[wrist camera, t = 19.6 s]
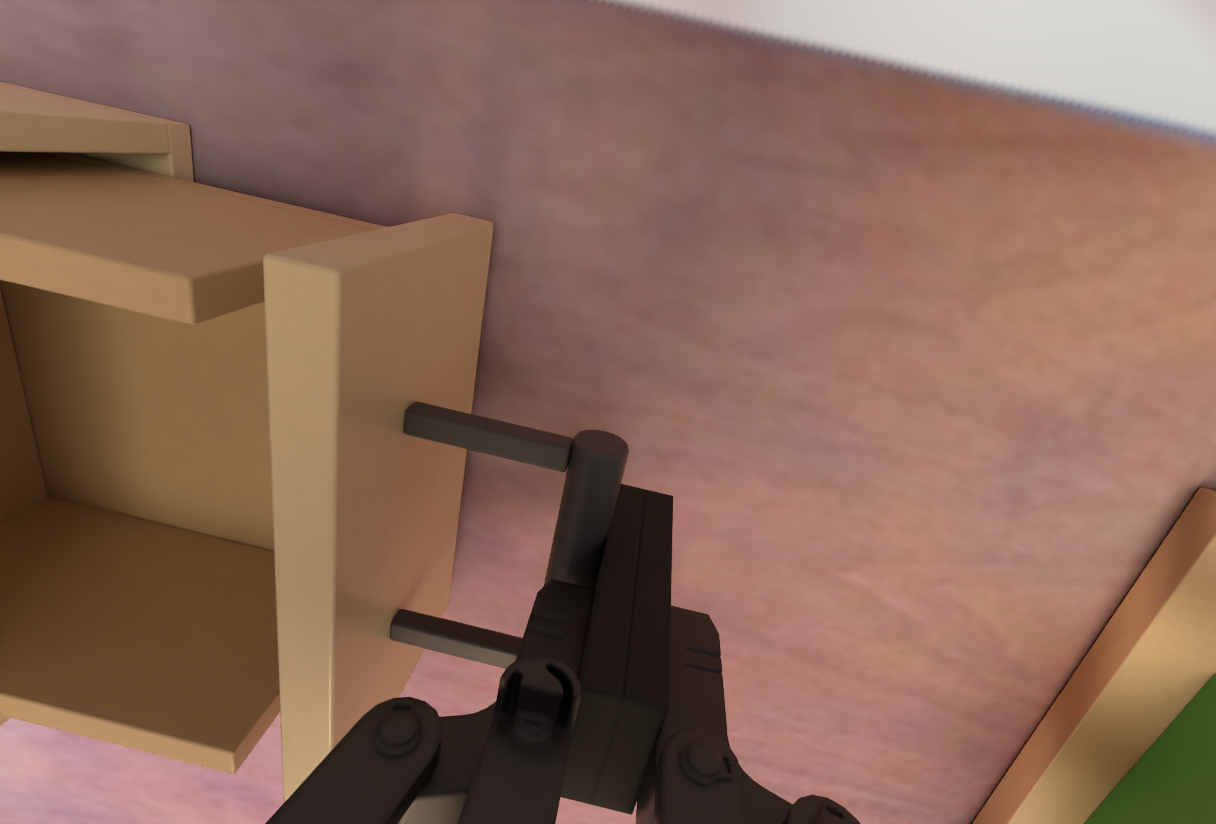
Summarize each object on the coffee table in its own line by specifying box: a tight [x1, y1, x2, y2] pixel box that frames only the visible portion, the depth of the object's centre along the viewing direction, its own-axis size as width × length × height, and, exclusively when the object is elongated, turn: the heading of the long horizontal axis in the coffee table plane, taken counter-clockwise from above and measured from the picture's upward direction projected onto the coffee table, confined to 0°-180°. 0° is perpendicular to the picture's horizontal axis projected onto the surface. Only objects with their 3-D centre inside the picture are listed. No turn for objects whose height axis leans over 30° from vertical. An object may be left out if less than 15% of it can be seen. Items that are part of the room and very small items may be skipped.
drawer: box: [0, 151, 629, 803], centre depth 15 cm, size 19×13×8 cm
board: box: [972, 487, 1216, 824], centre depth 20 cm, size 20×10×1 cm, turn 170°
